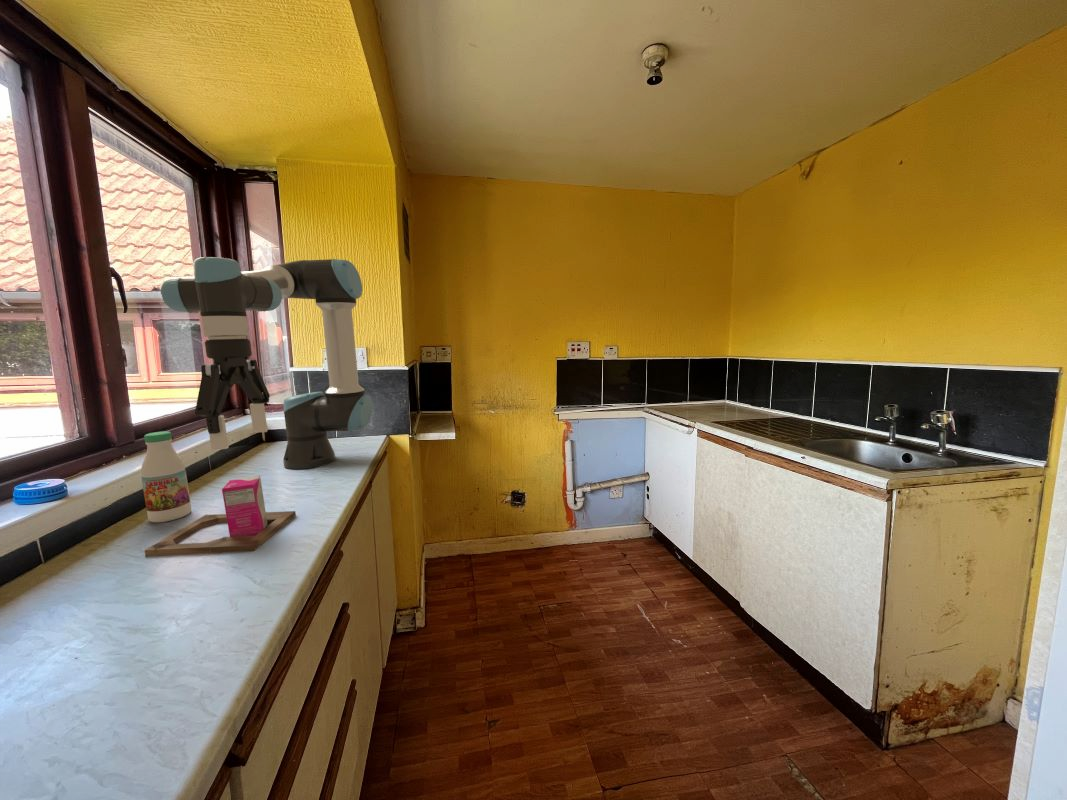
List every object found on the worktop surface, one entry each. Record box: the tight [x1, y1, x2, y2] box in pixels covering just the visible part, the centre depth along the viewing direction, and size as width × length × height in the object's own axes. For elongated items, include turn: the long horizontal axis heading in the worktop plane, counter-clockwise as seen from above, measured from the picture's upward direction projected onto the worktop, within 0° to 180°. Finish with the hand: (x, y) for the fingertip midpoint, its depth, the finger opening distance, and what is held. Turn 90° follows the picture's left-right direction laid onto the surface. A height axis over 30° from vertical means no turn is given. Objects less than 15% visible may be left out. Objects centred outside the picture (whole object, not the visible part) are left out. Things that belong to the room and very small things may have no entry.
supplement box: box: [221, 475, 268, 537], centre depth 87 cm, size 6×6×12 cm
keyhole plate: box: [144, 510, 297, 557], centre depth 88 cm, size 16×20×1 cm
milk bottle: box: [140, 431, 192, 523], centre depth 96 cm, size 8×8×20 cm
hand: (241, 439), depth 88 cm, fingers open, 13 cm apart
